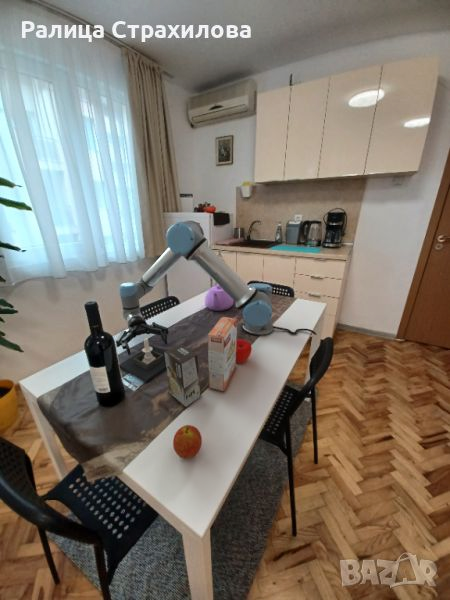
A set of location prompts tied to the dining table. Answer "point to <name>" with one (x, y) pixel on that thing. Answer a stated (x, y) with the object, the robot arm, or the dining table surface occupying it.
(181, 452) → the fruit
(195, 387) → the coffee box
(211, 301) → the teapot
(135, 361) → the socket pad
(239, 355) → the apple
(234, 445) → the dining table surface
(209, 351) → the cracker box
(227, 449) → the dining table surface
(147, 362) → the white tall tiered piece
